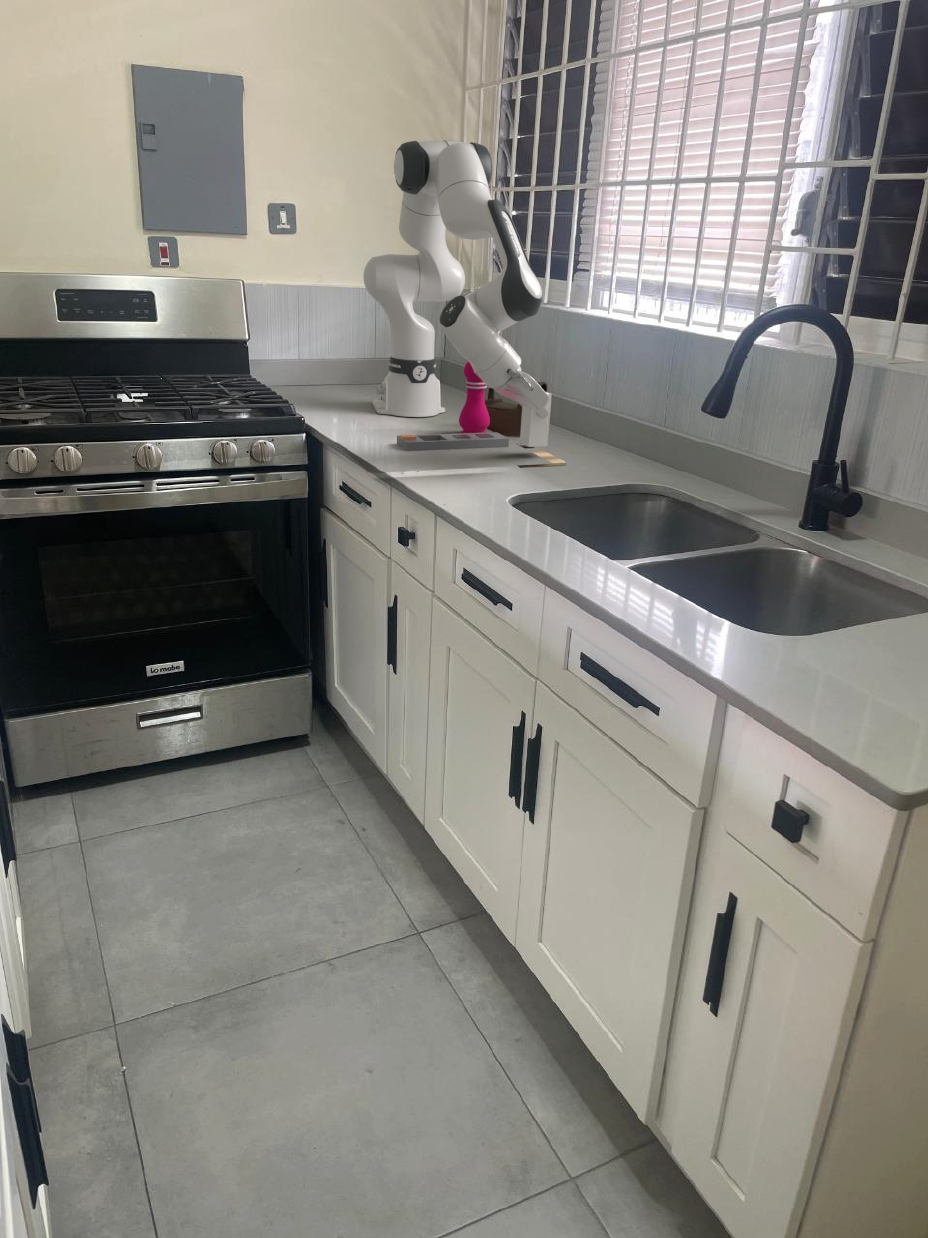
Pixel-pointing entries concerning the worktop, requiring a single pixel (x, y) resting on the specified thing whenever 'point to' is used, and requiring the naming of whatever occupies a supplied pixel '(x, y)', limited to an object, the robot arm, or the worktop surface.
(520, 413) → the clothes iron
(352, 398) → the worktop surface
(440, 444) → the power strip
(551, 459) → the tan flat angled piece
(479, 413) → the pepper mill
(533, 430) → the block
